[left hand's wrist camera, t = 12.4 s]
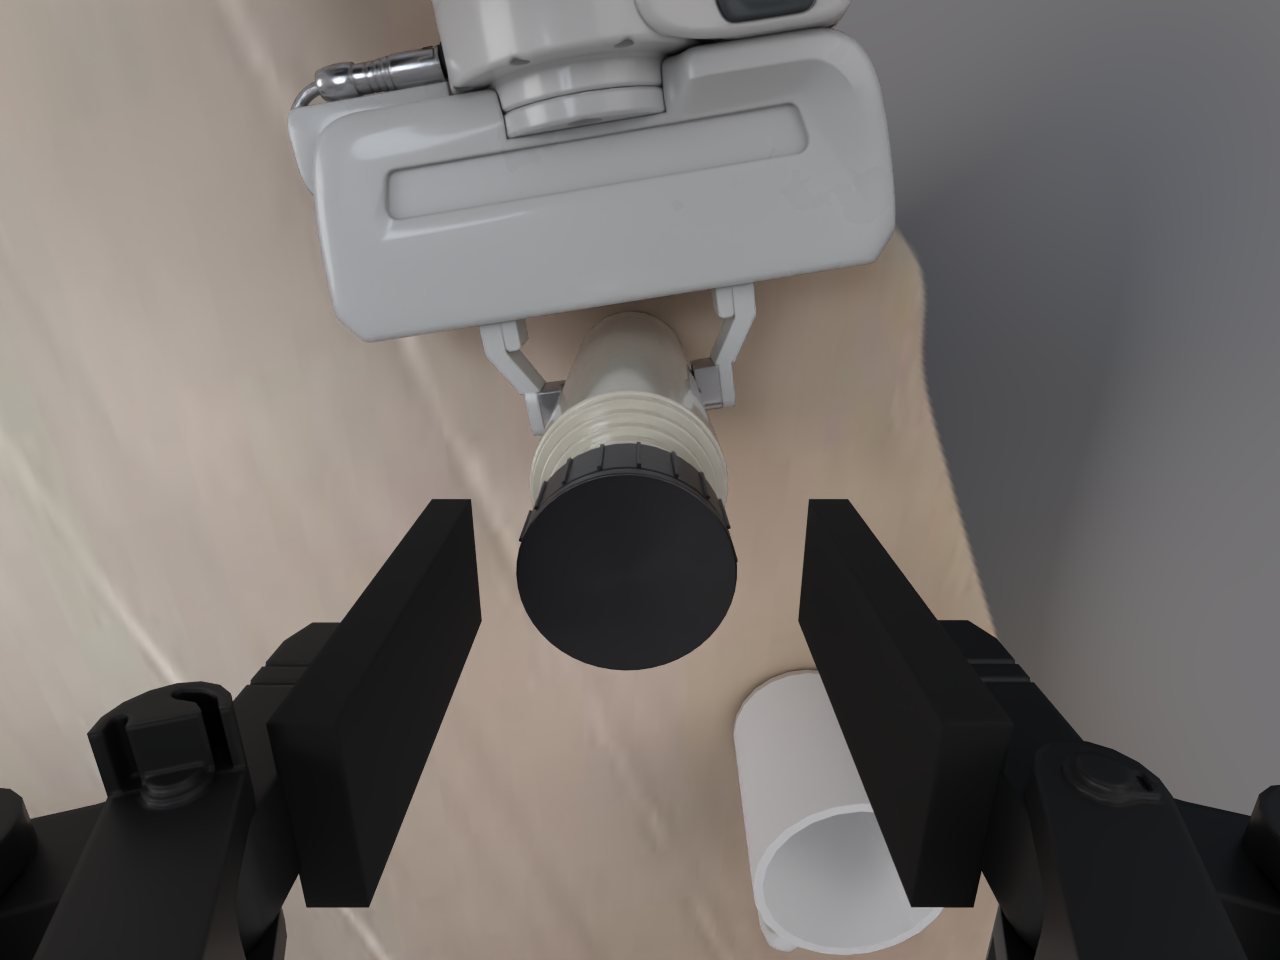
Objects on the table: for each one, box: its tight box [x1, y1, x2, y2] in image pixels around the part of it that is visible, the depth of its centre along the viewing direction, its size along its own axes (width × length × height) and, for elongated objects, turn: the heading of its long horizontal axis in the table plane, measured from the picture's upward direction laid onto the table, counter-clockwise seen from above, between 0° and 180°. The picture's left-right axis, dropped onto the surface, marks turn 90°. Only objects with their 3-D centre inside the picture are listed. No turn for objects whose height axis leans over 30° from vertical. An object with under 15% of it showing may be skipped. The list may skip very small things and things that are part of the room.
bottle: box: [529, 312, 728, 508], centre depth 24 cm, size 5×5×21 cm
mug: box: [733, 669, 944, 955], centre depth 36 cm, size 11×9×10 cm
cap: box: [516, 442, 737, 670], centre depth 15 cm, size 4×4×2 cm
